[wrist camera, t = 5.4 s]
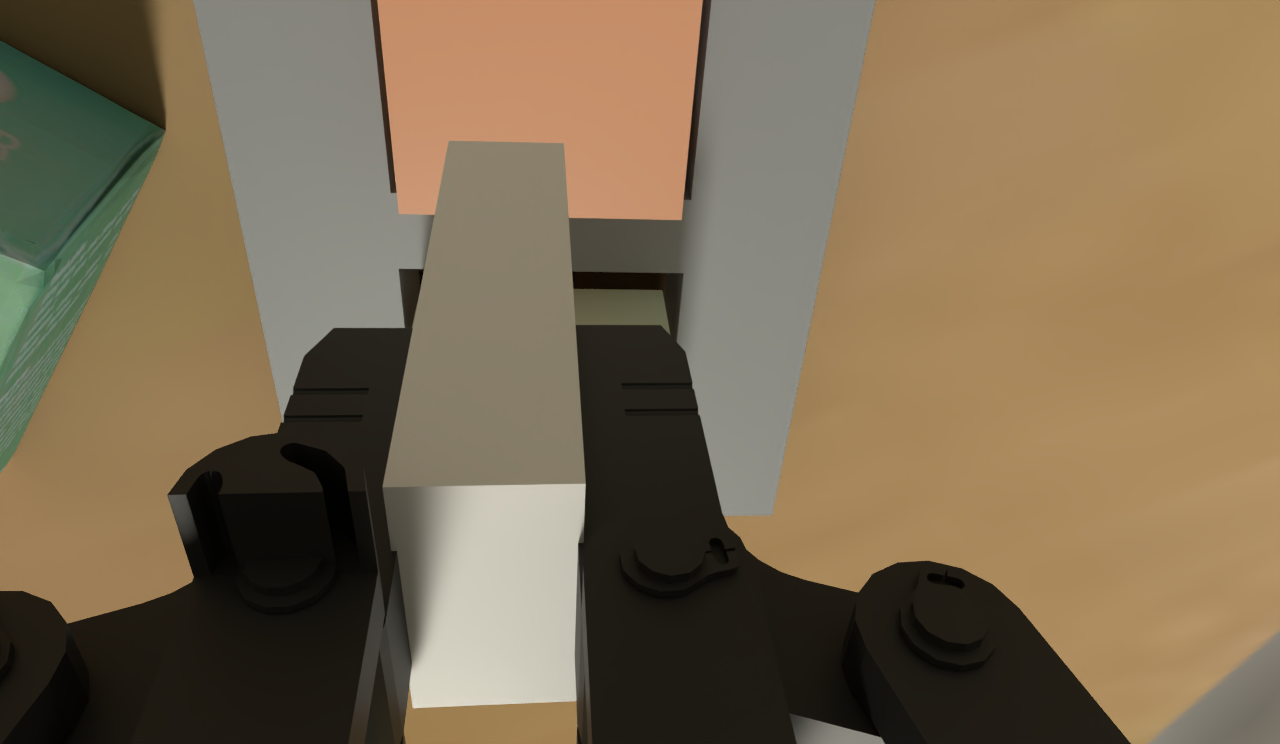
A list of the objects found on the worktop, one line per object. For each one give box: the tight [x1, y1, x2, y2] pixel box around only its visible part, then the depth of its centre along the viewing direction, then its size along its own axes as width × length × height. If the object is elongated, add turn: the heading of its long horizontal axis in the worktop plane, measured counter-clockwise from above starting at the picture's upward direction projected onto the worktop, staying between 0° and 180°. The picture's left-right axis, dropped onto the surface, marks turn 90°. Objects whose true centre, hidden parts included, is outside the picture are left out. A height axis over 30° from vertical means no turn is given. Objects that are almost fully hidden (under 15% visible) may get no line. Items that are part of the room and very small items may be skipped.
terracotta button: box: [377, 0, 703, 220], centre depth 20 cm, size 6×6×4 cm
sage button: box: [412, 289, 670, 334], centre depth 23 cm, size 6×6×4 cm
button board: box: [193, 0, 876, 516], centre depth 21 cm, size 14×28×3 cm, turn 176°
